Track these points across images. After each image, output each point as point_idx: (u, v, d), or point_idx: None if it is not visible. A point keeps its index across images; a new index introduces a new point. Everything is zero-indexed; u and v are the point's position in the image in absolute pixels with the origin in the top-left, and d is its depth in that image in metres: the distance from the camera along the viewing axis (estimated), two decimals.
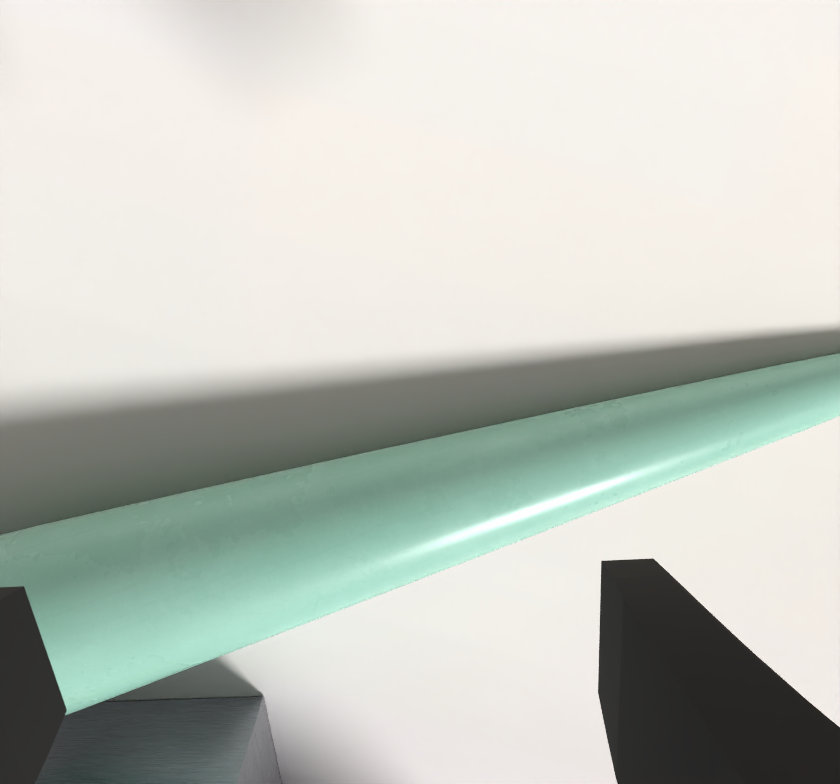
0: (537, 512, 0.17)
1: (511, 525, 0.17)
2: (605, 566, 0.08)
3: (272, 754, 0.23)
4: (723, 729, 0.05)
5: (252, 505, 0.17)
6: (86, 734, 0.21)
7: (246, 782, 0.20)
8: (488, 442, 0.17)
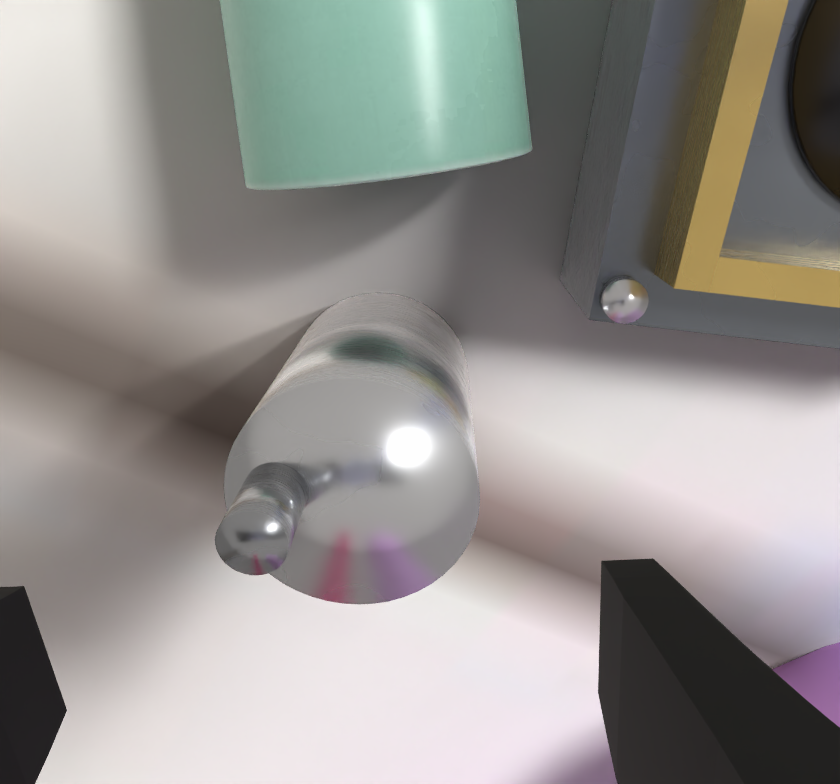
0: None
1: None
2: (605, 566, 0.08)
3: None
4: (723, 729, 0.05)
5: None
6: (614, 56, 0.13)
7: None
8: None
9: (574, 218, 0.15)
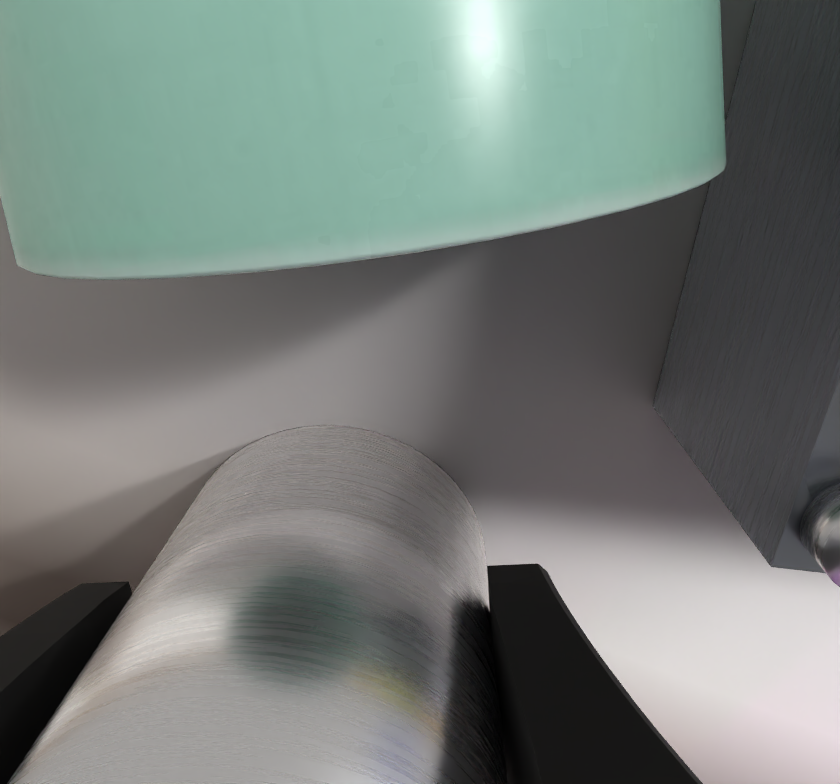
0: None
1: None
2: (488, 571, 0.08)
3: None
4: (543, 734, 0.05)
5: None
6: None
7: None
8: None
9: (690, 303, 0.08)
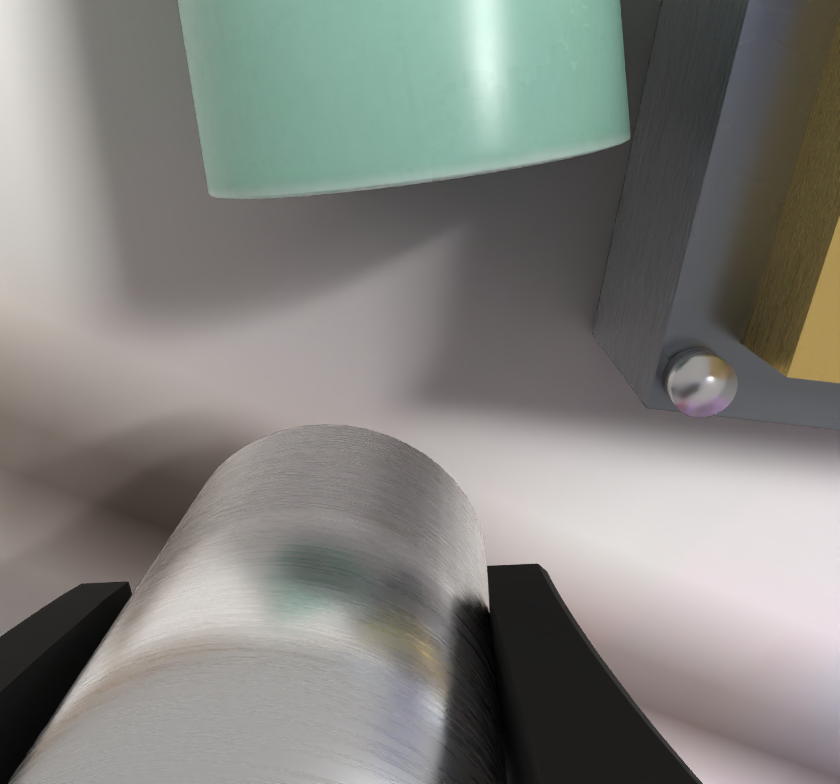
0: None
1: None
2: (488, 570, 0.08)
3: None
4: (542, 734, 0.05)
5: None
6: (679, 33, 0.09)
7: None
8: None
9: (614, 254, 0.11)
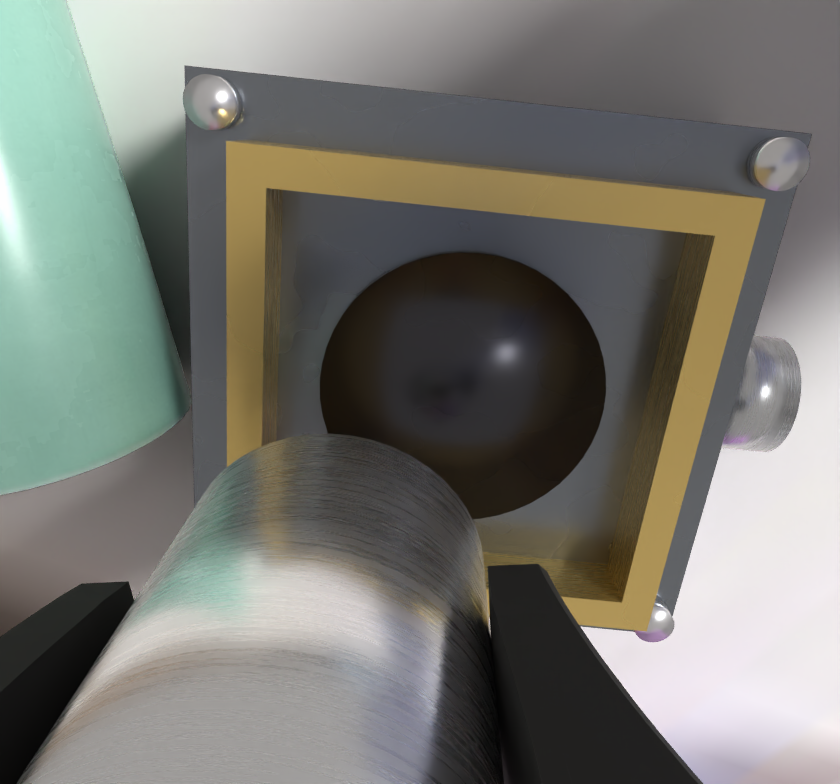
0: None
1: None
2: (488, 571, 0.08)
3: None
4: (543, 734, 0.05)
5: None
6: None
7: None
8: None
9: None
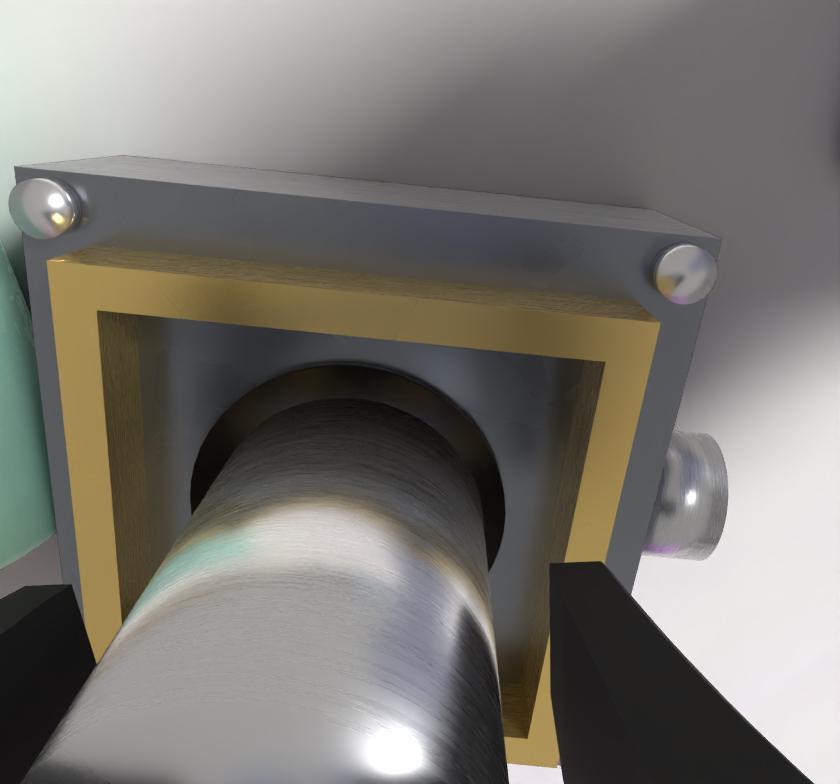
0: None
1: None
2: (552, 569, 0.08)
3: (238, 168, 0.13)
4: (641, 732, 0.05)
5: None
6: None
7: (98, 167, 0.10)
8: None
9: None
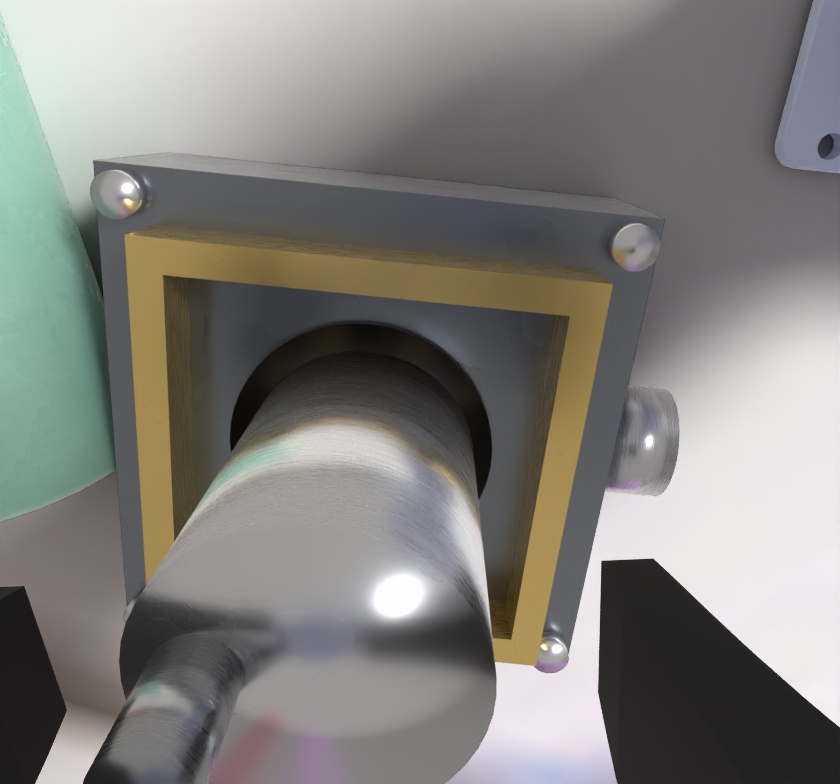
0: None
1: None
2: (605, 566, 0.08)
3: (267, 163, 0.15)
4: (723, 729, 0.05)
5: None
6: None
7: (156, 161, 0.13)
8: None
9: None
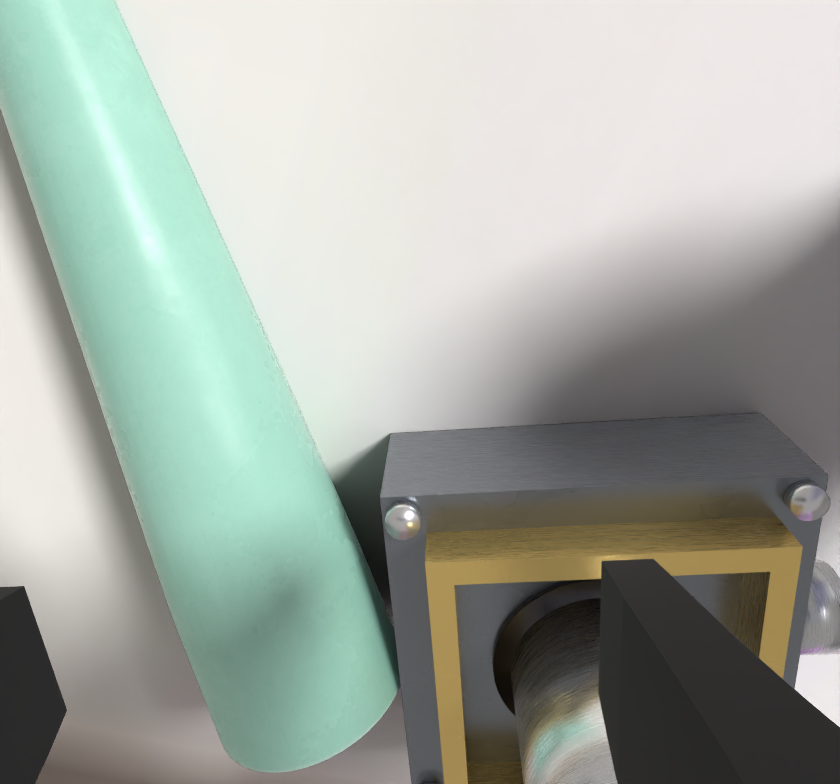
0: (29, 29, 0.13)
1: (48, 64, 0.13)
2: (605, 566, 0.08)
3: (472, 432, 0.19)
4: (723, 729, 0.05)
5: None
6: None
7: (413, 475, 0.17)
8: None
9: None
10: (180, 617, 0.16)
